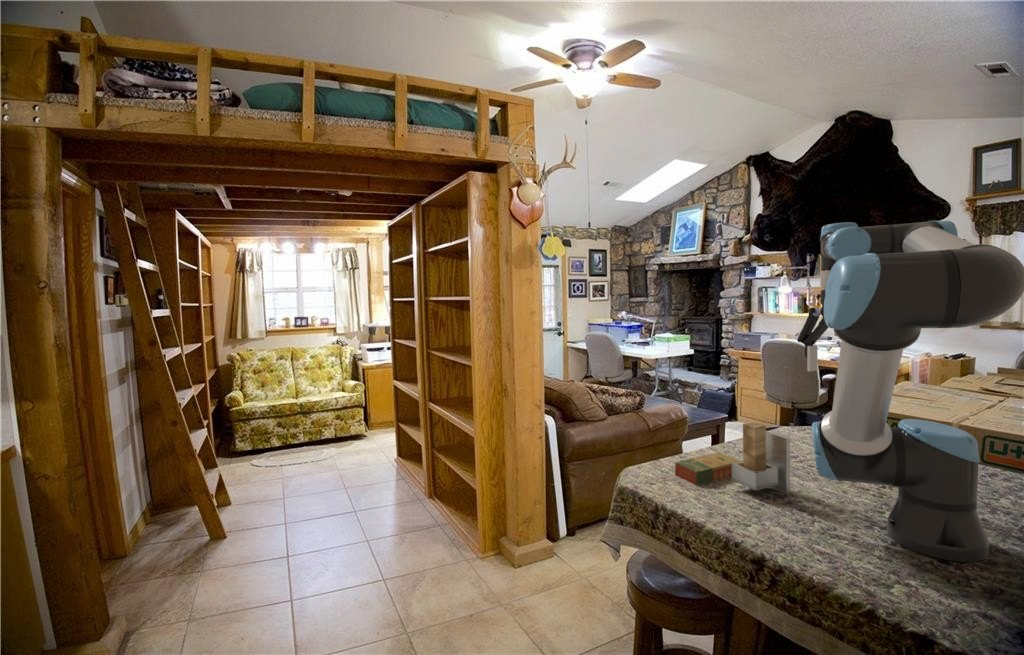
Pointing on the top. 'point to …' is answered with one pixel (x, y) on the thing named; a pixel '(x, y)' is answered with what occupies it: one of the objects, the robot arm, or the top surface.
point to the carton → (705, 468)
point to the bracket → (768, 467)
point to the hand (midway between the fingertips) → (838, 374)
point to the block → (754, 446)
